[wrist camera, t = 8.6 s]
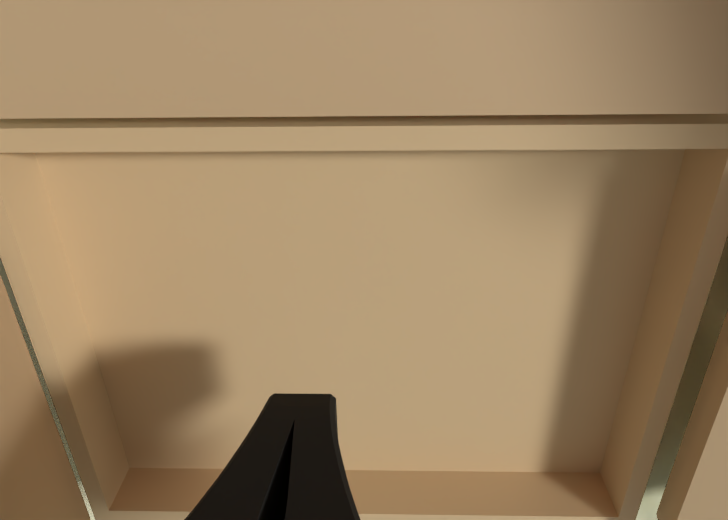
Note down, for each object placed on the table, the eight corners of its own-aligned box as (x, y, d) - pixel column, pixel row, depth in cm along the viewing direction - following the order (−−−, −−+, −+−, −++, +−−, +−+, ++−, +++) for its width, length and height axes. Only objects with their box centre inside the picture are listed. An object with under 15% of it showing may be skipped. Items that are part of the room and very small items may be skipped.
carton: (608, 473, 18) (637, 541, 16) (119, 468, 19) (87, 533, 17) (766, -101, 11) (858, -114, 9) (-54, -86, 11) (-152, -95, 9)
